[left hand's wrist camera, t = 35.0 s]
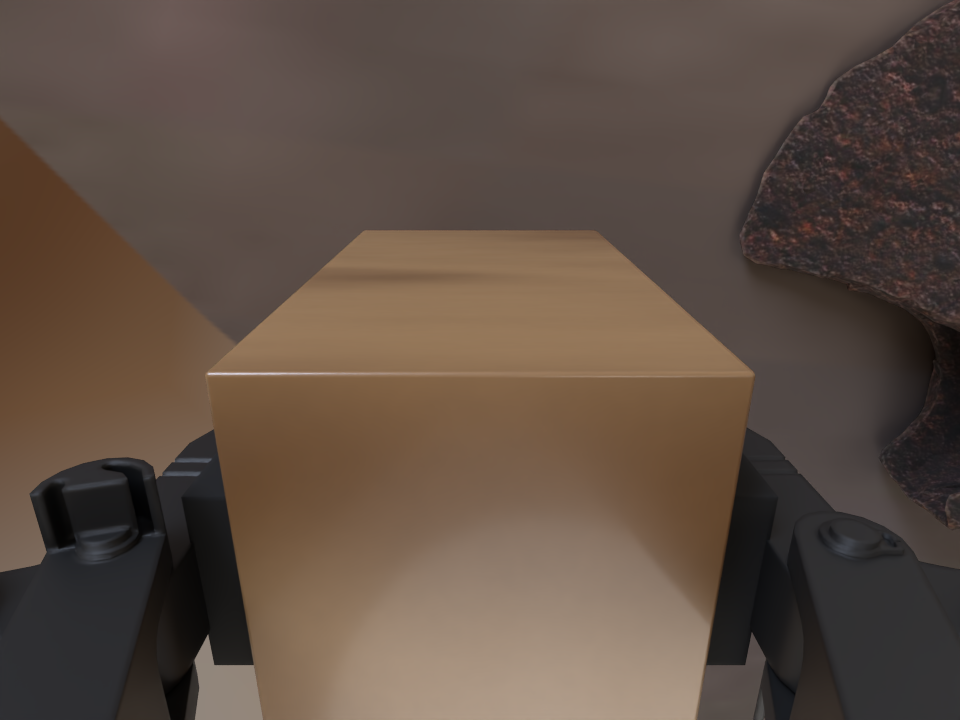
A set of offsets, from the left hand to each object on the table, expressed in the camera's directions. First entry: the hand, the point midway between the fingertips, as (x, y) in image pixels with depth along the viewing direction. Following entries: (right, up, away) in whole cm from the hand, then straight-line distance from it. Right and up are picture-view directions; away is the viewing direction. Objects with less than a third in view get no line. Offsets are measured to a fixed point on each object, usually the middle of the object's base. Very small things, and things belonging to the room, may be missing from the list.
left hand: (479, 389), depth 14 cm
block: (0, +1, +2) cm, 3 cm away
